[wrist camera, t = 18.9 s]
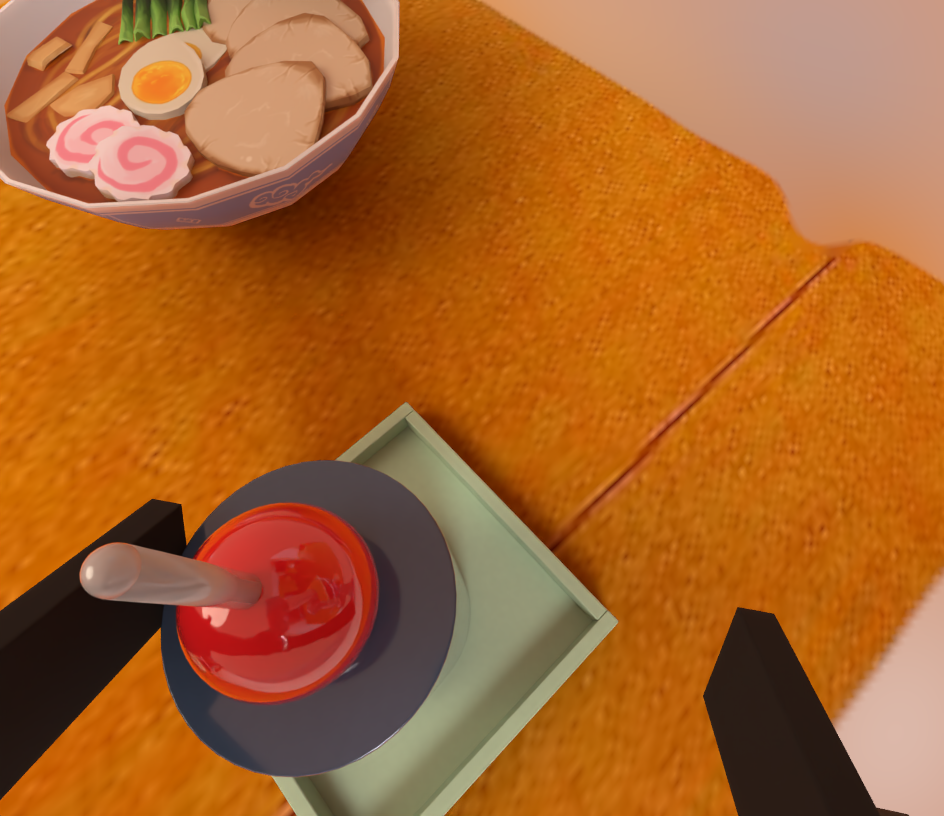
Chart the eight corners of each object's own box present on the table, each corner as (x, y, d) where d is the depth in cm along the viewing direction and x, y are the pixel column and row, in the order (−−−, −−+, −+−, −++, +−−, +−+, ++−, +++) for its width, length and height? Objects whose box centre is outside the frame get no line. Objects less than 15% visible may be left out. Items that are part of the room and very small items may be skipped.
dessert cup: (483, 687, 21) (470, 919, 4) (315, 720, 21) (-410, 1104, 4) (456, 520, 24) (383, 258, 7) (307, 547, 23) (-147, 341, 7)
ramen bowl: (-23, 279, 30) (-191, 164, 23) (135, 31, 39) (52, -111, 32) (394, 332, 28) (360, 223, 21) (463, 57, 37) (457, -89, 29)
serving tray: (609, 622, 22) (619, 621, 21) (368, 887, 19) (356, 912, 17) (411, 415, 26) (406, 400, 25) (183, 604, 23) (160, 602, 21)
